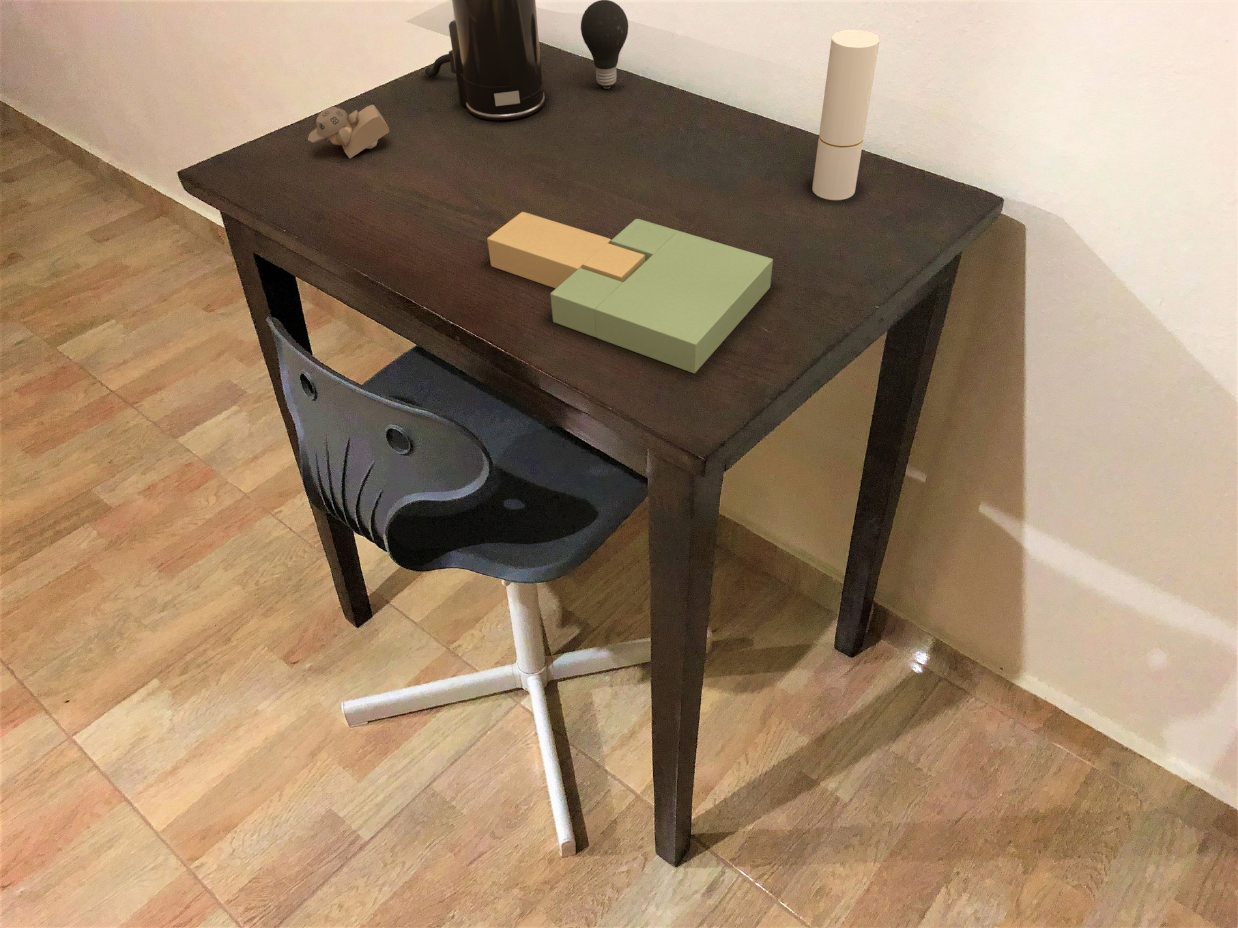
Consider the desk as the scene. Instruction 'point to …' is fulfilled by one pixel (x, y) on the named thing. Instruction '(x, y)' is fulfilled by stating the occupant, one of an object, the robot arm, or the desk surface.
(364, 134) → the toy character
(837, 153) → the tube
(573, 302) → the base pad
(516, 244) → the loose pad
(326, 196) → the desk surface
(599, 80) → the light bulb
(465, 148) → the desk surface
